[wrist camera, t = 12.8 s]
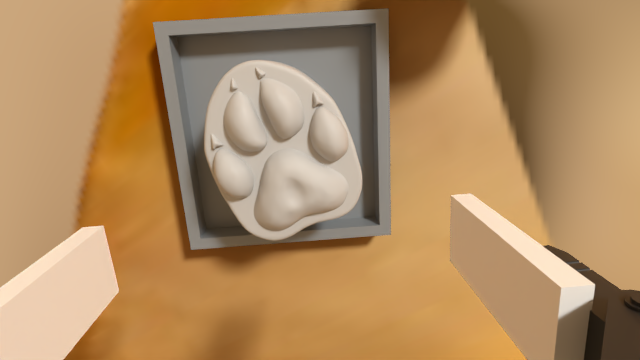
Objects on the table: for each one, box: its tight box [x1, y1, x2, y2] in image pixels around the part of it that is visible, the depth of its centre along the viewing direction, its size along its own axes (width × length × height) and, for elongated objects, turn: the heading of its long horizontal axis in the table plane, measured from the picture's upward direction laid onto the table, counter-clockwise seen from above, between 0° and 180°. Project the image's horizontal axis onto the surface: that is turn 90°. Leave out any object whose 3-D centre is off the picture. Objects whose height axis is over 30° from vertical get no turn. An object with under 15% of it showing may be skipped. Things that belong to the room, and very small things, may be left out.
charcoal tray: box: [153, 8, 391, 250], centre depth 34 cm, size 19×18×3 cm
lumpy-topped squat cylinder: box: [204, 60, 362, 241], centre depth 31 cm, size 10×13×9 cm
